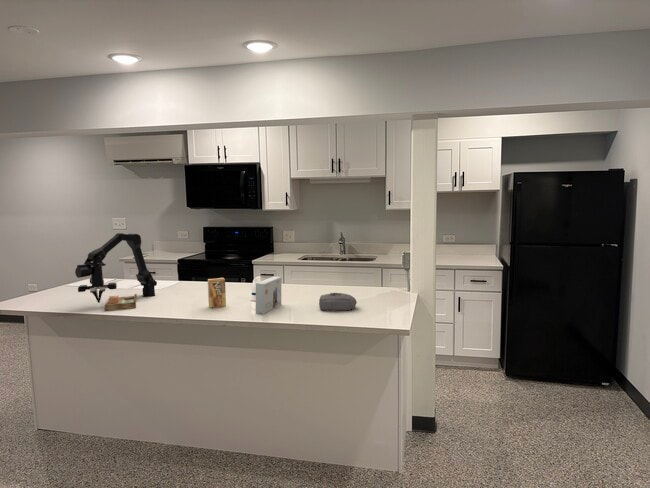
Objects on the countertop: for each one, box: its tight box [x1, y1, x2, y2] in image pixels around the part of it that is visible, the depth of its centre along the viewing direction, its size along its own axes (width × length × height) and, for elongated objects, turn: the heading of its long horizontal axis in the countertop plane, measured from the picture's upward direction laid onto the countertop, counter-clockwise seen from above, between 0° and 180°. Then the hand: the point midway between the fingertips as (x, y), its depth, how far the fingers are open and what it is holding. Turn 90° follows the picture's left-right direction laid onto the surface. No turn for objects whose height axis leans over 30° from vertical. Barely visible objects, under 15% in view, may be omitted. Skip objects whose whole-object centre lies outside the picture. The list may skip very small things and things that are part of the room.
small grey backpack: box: [318, 292, 358, 311], centre depth 239 cm, size 15×8×20 cm
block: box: [108, 295, 120, 304], centre depth 252 cm, size 5×5×3 cm
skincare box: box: [255, 275, 283, 315], centre depth 240 cm, size 21×5×16 cm, turn 160°
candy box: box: [207, 277, 227, 309], centre depth 247 cm, size 9×4×15 cm, turn 116°
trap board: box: [104, 293, 138, 312], centre depth 255 cm, size 15×23×3 cm, turn 21°
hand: (98, 302), depth 249 cm, fingers closed
